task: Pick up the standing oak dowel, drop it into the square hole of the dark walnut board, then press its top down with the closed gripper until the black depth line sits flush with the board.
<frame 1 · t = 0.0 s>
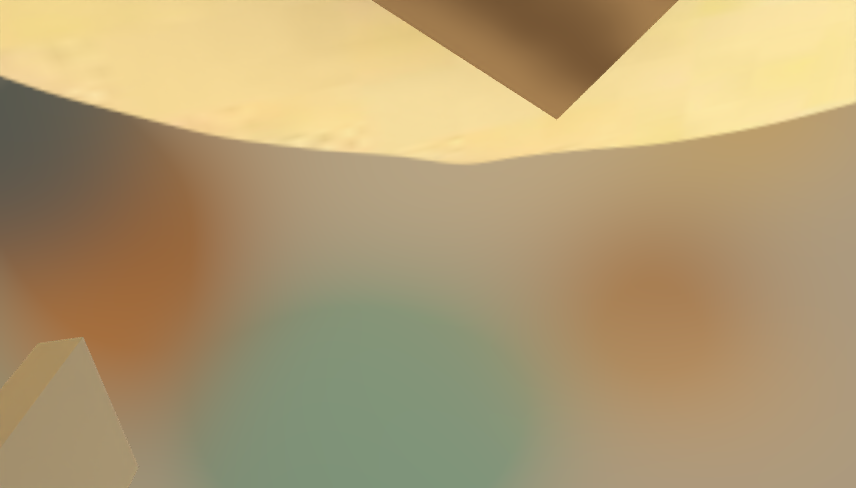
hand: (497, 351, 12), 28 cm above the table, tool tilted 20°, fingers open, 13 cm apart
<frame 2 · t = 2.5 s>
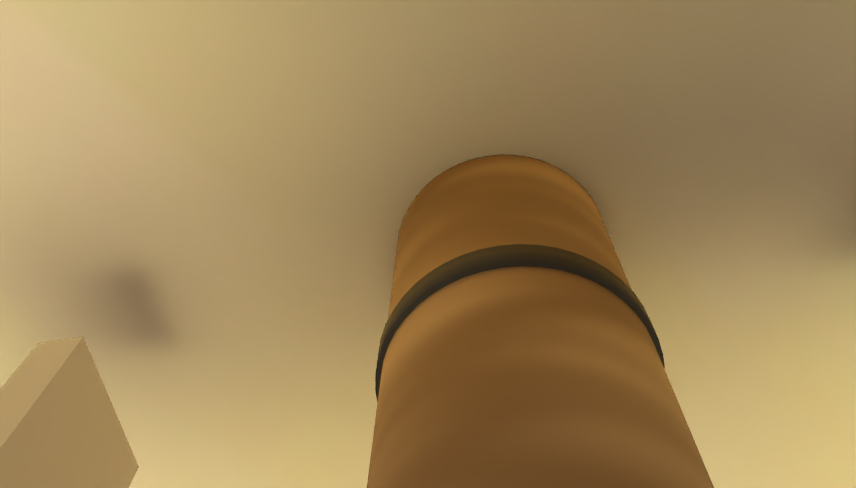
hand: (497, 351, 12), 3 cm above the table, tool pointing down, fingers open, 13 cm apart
dowel: (500, 252, 15), on the table
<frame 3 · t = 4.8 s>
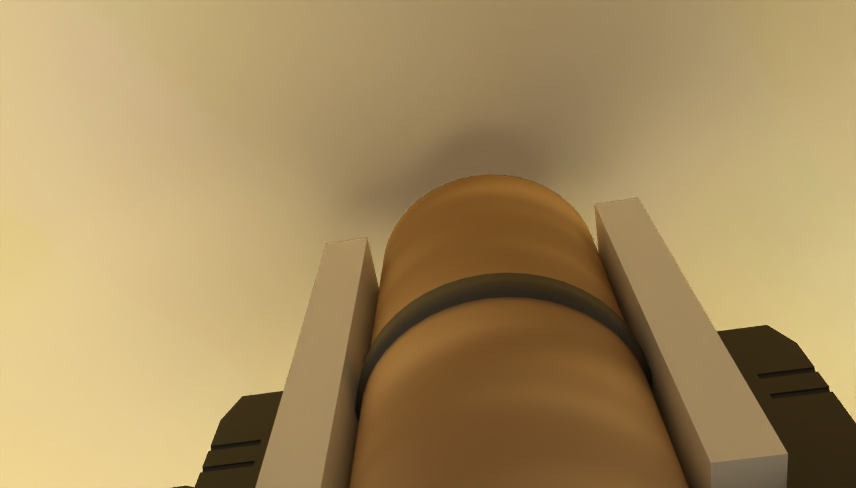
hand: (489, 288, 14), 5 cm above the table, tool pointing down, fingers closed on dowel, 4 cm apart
dowel: (489, 274, 15), point 5 cm above the table, touching gripper
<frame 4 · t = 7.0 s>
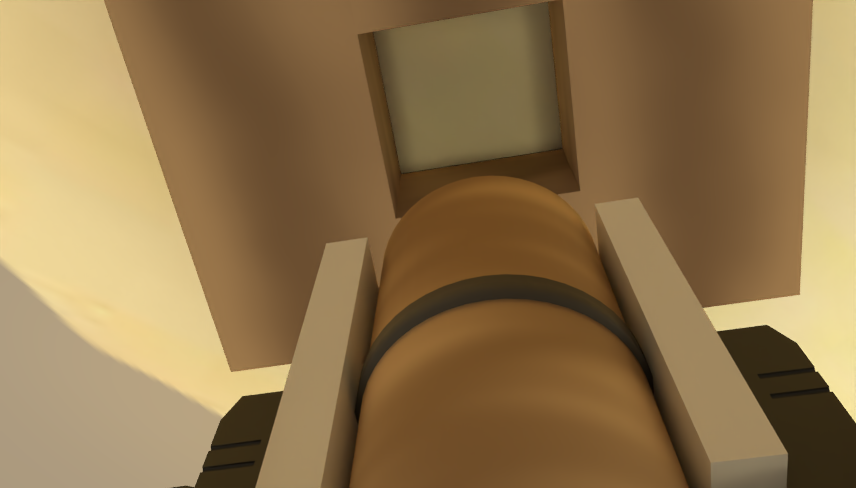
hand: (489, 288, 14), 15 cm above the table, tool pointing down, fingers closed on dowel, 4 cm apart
dowel: (489, 276, 15), point 14 cm above the table, touching gripper
board: (469, 82, 28), on the table
when the fingers open (6 cm above the table, at t = 9.2 s): dowel drops 5 cm, resting in board.
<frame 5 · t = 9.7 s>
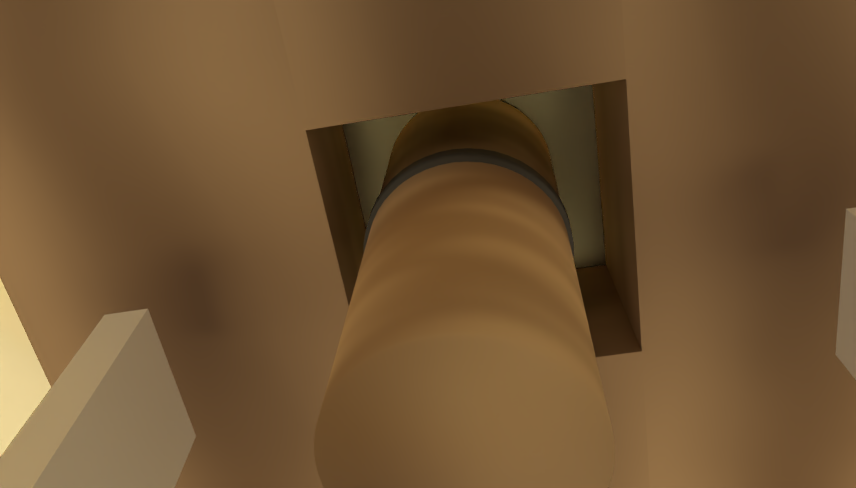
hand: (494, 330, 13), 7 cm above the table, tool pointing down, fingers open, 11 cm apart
dowel: (469, 174, 19), resting in board
board: (476, 175, 19), on the table
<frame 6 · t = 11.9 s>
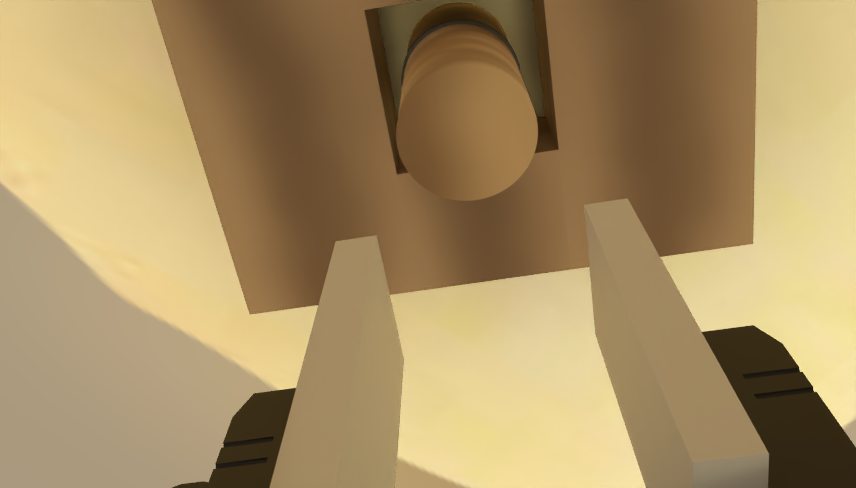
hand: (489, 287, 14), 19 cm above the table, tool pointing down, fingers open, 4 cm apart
dowel: (458, 54, 31), resting in board
board: (462, 56, 31), on the table
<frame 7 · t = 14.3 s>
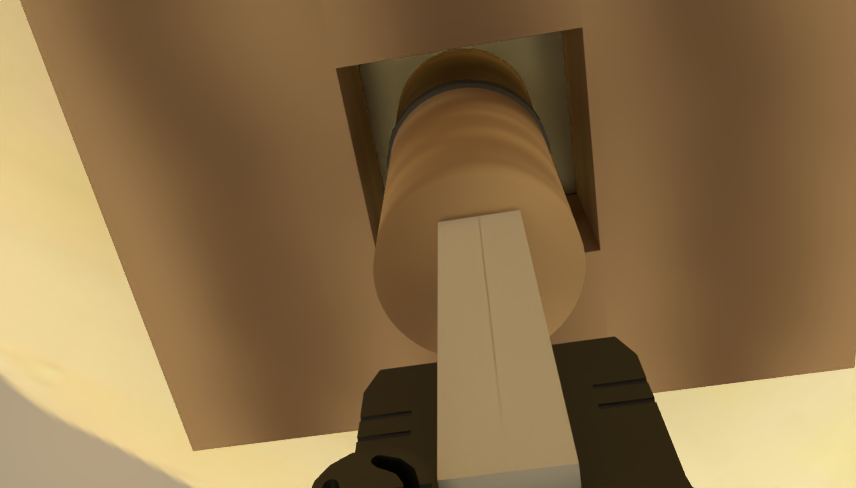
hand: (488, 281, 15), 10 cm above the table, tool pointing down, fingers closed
dowel: (464, 115, 24), resting in board, touching gripper
board: (469, 117, 24), on the table
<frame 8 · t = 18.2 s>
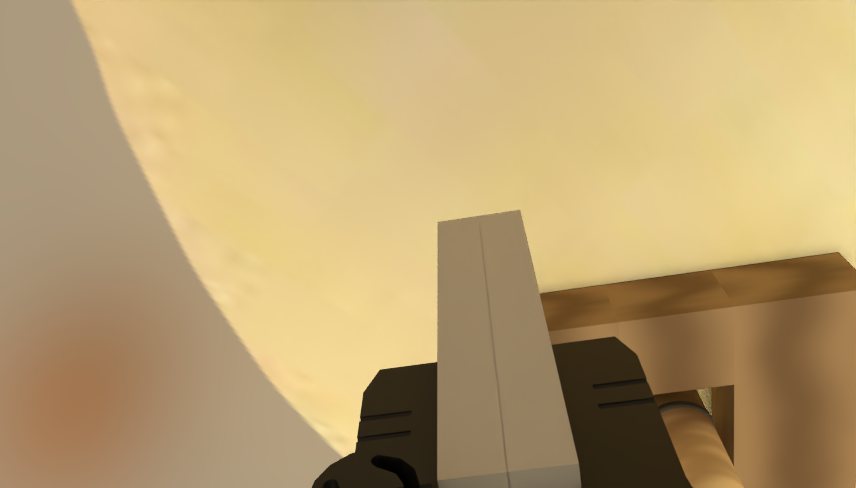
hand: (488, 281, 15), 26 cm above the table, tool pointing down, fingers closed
dowel: (659, 390, 48), resting in board
board: (661, 391, 48), on the table
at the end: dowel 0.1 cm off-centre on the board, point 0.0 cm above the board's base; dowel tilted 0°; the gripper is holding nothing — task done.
